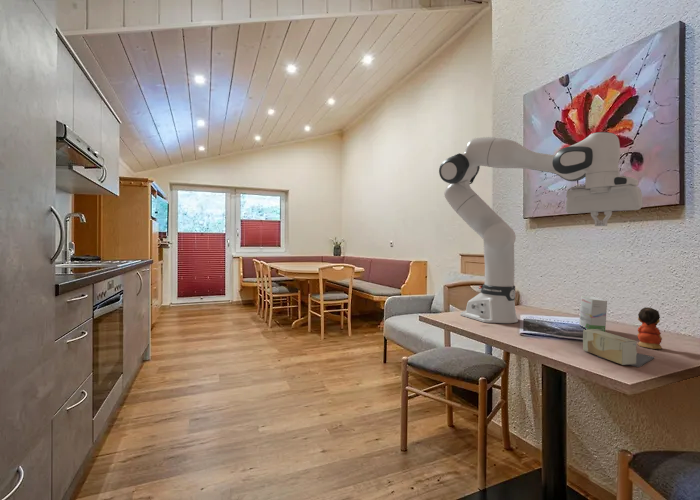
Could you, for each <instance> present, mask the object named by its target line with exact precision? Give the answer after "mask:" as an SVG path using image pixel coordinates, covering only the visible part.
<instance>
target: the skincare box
mask: <svg viewBox="0 0 700 500" xmlns="http://www.w3.org/2000/svg"><path fill="white" fill-rule="evenodd" d="M637 344H638V342H637V341H636V340H634V339H630V338H627V337H623V336H621V335H619V334H618V335H617V334H613V333H610V332H607V331H605V332H604V331H601V330H597V329H586V330H585V329H583V331H582V350H583V351H584V352H588V353H591V354H593V355H596V356H597V357H598V356H600V357H603V358H606V359H605V360H607V359H608V360H607V361H611V362H613V363H617V364H619V365H622V366H632V365H634V364H636V355H637V353H638V352H637V351H638V350H637ZM603 358H602V359H603Z"/></svg>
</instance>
